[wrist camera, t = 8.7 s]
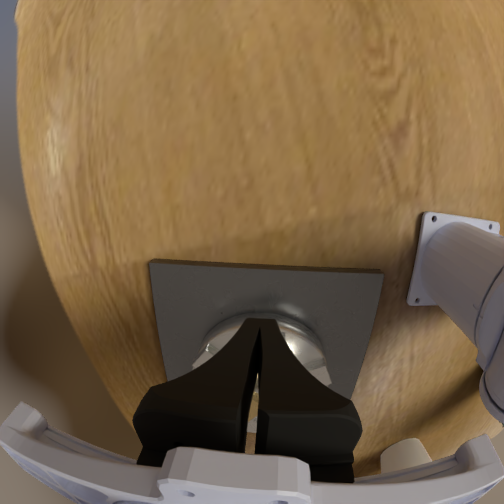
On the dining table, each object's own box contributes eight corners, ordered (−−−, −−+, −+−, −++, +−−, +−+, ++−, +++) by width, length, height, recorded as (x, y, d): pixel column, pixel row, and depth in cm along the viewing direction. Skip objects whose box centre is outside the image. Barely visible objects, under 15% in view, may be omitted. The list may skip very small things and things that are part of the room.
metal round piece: (248, 285, 21) (235, 346, 14) (350, 356, 22) (370, 420, 15) (159, 387, 25) (134, 441, 18) (247, 434, 26) (240, 489, 19)
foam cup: (435, 423, 26) (464, 493, 14) (422, 453, 29) (442, 514, 17) (372, 444, 28) (389, 524, 15) (367, 471, 30) (379, 537, 18)
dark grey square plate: (380, 269, 21) (384, 274, 20) (339, 419, 26) (340, 426, 25) (154, 258, 22) (148, 263, 21) (178, 409, 27) (175, 416, 26)
